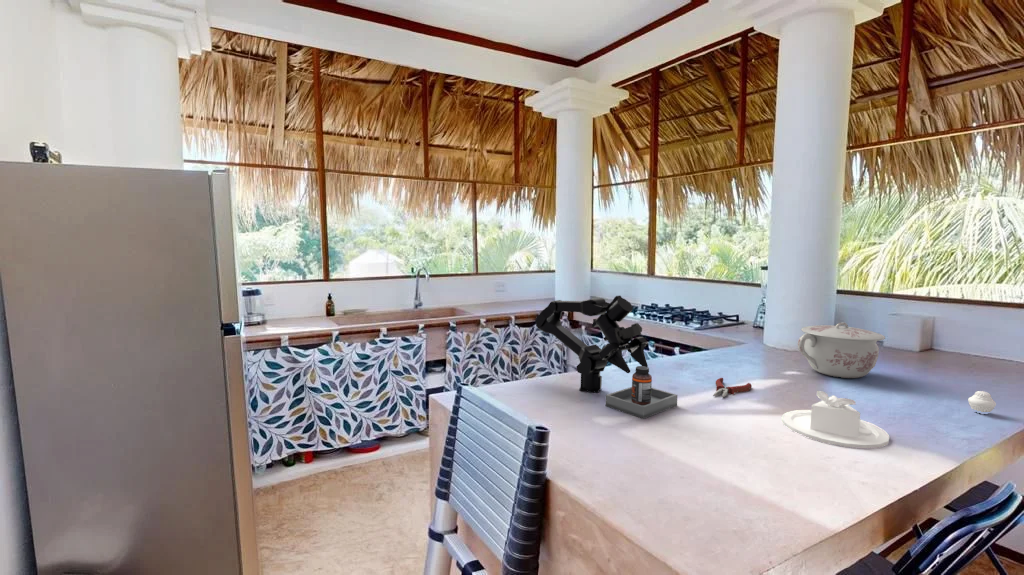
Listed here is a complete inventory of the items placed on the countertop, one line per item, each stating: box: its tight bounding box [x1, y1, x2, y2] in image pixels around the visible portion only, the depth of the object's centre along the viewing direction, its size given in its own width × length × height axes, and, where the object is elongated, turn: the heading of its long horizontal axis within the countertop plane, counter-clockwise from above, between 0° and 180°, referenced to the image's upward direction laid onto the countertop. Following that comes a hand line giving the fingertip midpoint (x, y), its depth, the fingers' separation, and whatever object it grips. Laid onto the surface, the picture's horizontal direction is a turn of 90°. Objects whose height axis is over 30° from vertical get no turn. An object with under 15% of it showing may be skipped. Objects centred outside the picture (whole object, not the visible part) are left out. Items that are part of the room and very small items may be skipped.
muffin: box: [967, 390, 997, 413], centre depth 147 cm, size 6×6×7 cm
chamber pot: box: [797, 321, 886, 379], centre depth 189 cm, size 28×28×21 cm
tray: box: [605, 386, 678, 419], centre depth 150 cm, size 14×18×4 cm
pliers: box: [712, 377, 752, 398], centre depth 166 cm, size 12×20×3 cm, turn 139°
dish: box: [781, 390, 890, 450], centre depth 133 cm, size 25×25×11 cm
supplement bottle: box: [631, 365, 653, 405], centre depth 150 cm, size 6×6×11 cm
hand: (638, 370), depth 151 cm, fingers open, 9 cm apart
